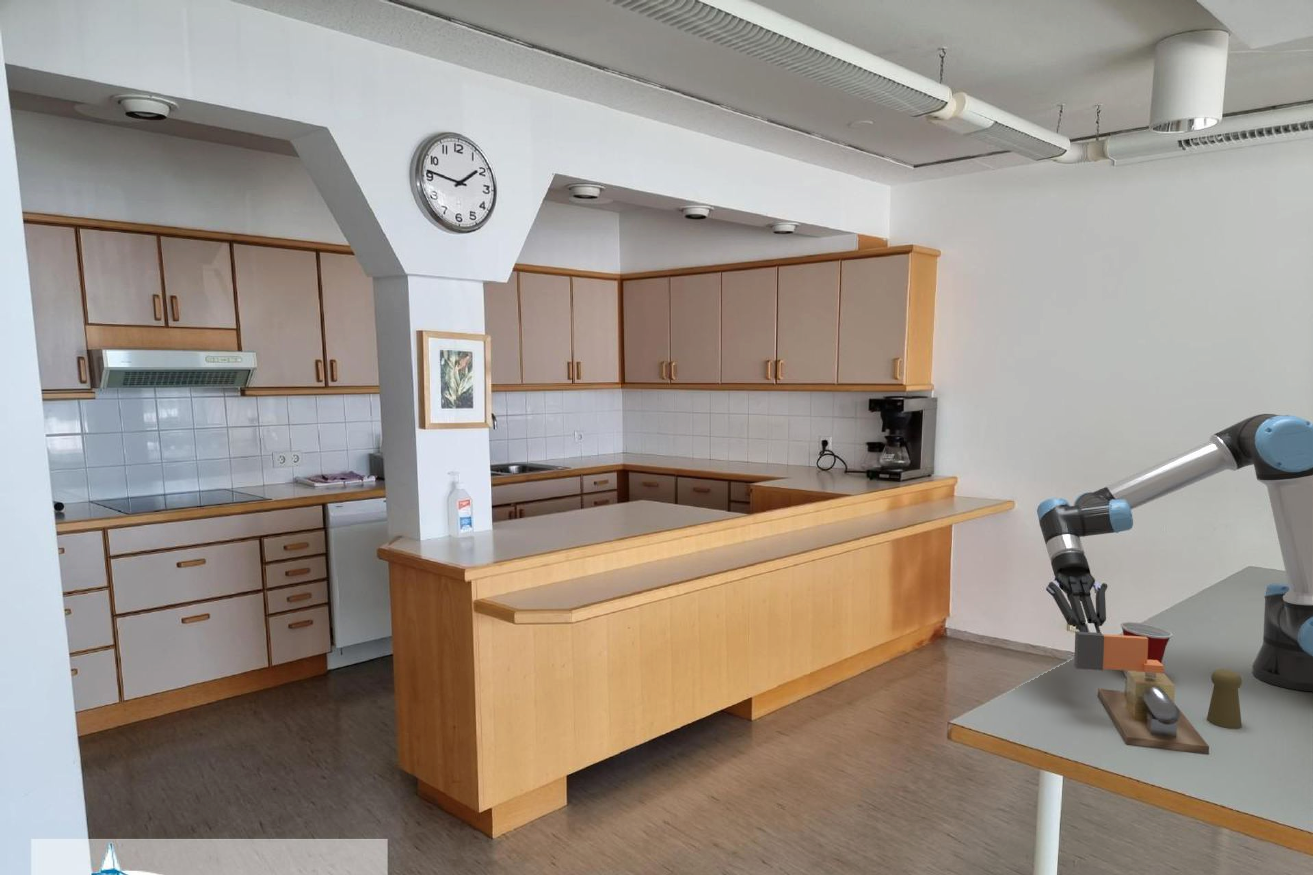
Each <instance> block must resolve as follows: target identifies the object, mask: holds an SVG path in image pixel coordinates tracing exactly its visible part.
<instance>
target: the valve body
mask: <svg viewBox="0 0 1313 875" xmlns="http://www.w3.org/2000/svg"><path fill="white" fill-rule="evenodd" d="M1123 673H1124V675H1125V677H1126V680H1125V683H1124V691H1125V696H1126V708H1127V709H1128V711H1129V712H1130V714H1131V715H1132V717H1133V718H1134V720H1141V721H1147V730H1148V731H1149V733H1150V734H1151V735H1157V736H1166V737H1175V738H1176V736H1177V721H1178V720H1179V718H1180V712H1179V710H1180V708H1179V707H1178V706H1177V704H1174V703H1175V693H1176V692H1175V690H1176V685H1175V684H1174V683H1173V682H1172V681H1171V679H1170V678H1169V677H1168V676H1167V675H1166V674H1165V673H1164V674H1161V673H1156V678H1150V677H1147V676H1145V672H1143V671H1127V670H1123ZM1176 706H1177V707H1178V708H1179V709H1178V708H1177V707H1176Z"/></svg>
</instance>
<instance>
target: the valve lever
mask: <svg viewBox="0 0 1313 875" xmlns="http://www.w3.org/2000/svg"><path fill="white" fill-rule="evenodd" d="M1074 634H1075V635H1074V655H1073V656H1074V662H1073V666H1074V667H1075V669H1077V670H1094V671H1103V670H1111V671H1113V670H1115V671H1117V670H1118V671H1124V670H1127V671H1143V672H1145V676H1147V677H1150V678H1156V673H1161V674H1165V665H1163V663H1160V662H1159V661H1158V660H1147V657H1148V638H1147V637H1141V636H1123V634H1122V635H1121V634H1104V633H1102V632H1101V633H1094V632H1079V631H1075V632H1074Z"/></svg>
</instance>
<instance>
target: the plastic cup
mask: <svg viewBox="0 0 1313 875" xmlns="http://www.w3.org/2000/svg"><path fill="white" fill-rule="evenodd" d="M1120 627H1121V630H1122V633H1123V634H1122V635H1123V636H1141V637H1147V638H1148V657H1147V660H1158V661H1159V662H1160V663H1161V664H1163V663H1162V662H1163V658H1164V655H1165V651H1166V648H1167V646H1168V642H1169V641H1170V639H1171V638H1172V637H1173V633H1172V632H1171V631H1169V630H1166V629H1164V628H1162V627H1160V626H1155V625H1151V624H1148V623H1141V622H1135V621H1134V622H1133V621H1131V622H1130V621H1127V622H1125V621H1123V622H1122V623H1120Z"/></svg>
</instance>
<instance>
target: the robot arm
mask: <svg viewBox="0 0 1313 875" xmlns="http://www.w3.org/2000/svg"><path fill="white" fill-rule="evenodd" d="M1209 438H1210V439H1209V440H1208V441H1206V442H1204V443H1202V444H1199V445H1198V446H1194V447H1193V448H1191V449H1189V450H1187V451H1183V452H1182V453H1179V454H1177V455H1175V456H1171V457H1170V458H1168V459H1166V460H1164V461H1161V462H1158V463H1156V464H1154V465H1152V466H1150V467H1147V468H1146V469H1145V468H1144V469H1143V470H1140V471H1138V472H1136V473H1134V474H1131V475H1129V476H1126V477H1124V478H1123V479H1120V480H1118V481H1116V482H1114V483H1111V484H1109V485H1106V486H1105V487H1103V488H1100V489H1098V490H1096V491H1093V492H1091V491H1090V492H1089V491H1087V492H1083V493H1081V494H1080V495H1078V496H1077V497H1076V499H1075V500H1074V502H1073V505H1071V504H1070V502H1069V501H1067V499H1064V498H1062V497H1061V498H1058V497H1051V498H1047V499H1045V500H1043V501H1042V502H1040V504H1039V505H1038V506H1037V509H1036V513H1037V518H1038V522H1039V527H1040V529H1041V533H1042V538H1043V540H1044V542H1045V547H1046V549H1047V554H1048V557H1049V561H1050V563H1051V564H1050V565H1051V567H1052V571H1053V575H1054V581H1049V583H1048V585H1047V586H1046V588H1045V590H1046V591H1047V593H1048V594H1049V595H1051V596H1052V598H1053V599H1054V602H1055V603H1056V605H1057V607H1058V609H1059V610H1060V612H1061V614H1062V616H1063V617H1064V619H1065V621H1066V623H1067V624H1068V626H1074V627H1075V628H1076V630H1077V631H1078V632H1094V633H1102V632H1101V629H1100V627H1102V626H1103V625H1104V624H1105V622H1106V621H1107V612H1106V611H1107V609H1106V607H1107V606H1106V591H1107V589H1108V587H1109V585H1108V584H1107V583H1106V582H1105V583H1102V584H1101V583H1100V582H1097V581H1096V579H1095V577H1094V576H1093V574H1092V573H1091V568H1090V565H1089V563H1088V558H1087V557H1086V553H1085V550H1084V547H1083V544H1082V541H1081V538H1083V537H1089V536H1090V537H1092V536H1097V535H1105V534H1106V535H1107V534H1115V533H1116V534H1118V533H1121V532H1126V531H1130V530H1131V529H1133V526H1134V518H1133V513H1132V510H1134V509H1137V508H1138V507H1142V506H1143V505H1146V504H1148V503H1150V502H1154V501H1155V500H1158V499H1160V498H1163V497H1165V496H1167V495H1169V494H1172V493H1175V492H1176V491H1179V490H1181V489H1184V488H1186V487H1188V486H1190V485H1193V484H1195V483H1197V482H1200V481H1202V480H1205V479H1207V478H1209V477H1212V476H1214V475H1216V474H1219V473H1221V472H1223V471H1226V470H1230V471H1233V472H1234V471H1238V470H1240V469H1243V468H1245V467H1248V466H1253V468H1254V470H1255V472H1254V473H1255V476H1256V480H1257V481H1258V482H1260V483H1262V484H1263V485H1265V486H1266V487H1267V493H1268V497H1269V502H1270V507H1271V510H1272V511H1271V512H1272V516H1273V519H1274V525H1275V529H1276V535H1277V538H1278V544H1279V547H1280V552H1281V556H1282V561H1283V568H1284V571H1285V575H1286V576H1285V577H1286V580H1287V583H1286V582H1285V583H1284V582H1283V583H1282V582H1278V583H1277V582H1274V583H1270V584H1268V585H1267V586H1266V589H1265V594H1264V613H1263V614H1264V615H1263V616H1264V617H1263V618H1264V619H1263V620H1264V621H1263V637H1262V638H1263V639H1262V645H1261V647H1260V648H1259V651H1258V653H1257V655H1256V657H1255V659H1254V661H1253V662H1252V663H1253V664H1252V675H1253V676H1254V677H1255V678H1256V679H1259V680H1260V681H1263V682H1265V683H1267V684H1271V685H1274V686H1278V687H1281V688H1287V689H1290V690H1291V689H1292V690H1297V691H1304V692H1313V423H1312V422H1310V421H1308V420H1306V419H1304V418H1302V417H1299V416H1295V415H1289V414H1286V415H1285V414H1283V415H1282V414H1275V413H1274V414H1273V413H1262V414H1255V415H1252V416H1250V417H1247V418H1245V419H1244V420H1241V421H1239V422H1237V423H1235V424H1233V425H1231V426H1229V427H1226V428H1225V429H1223V430H1221V431H1218V432H1216V433H1214V434H1212V435H1211V436H1210V437H1209ZM1092 588H1093V591H1094V594H1095V606H1094V603H1093V600H1092V597H1091V595H1092V594H1091V590H1092ZM1064 594H1066V597H1067V598H1066V597H1065V595H1064Z"/></svg>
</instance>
